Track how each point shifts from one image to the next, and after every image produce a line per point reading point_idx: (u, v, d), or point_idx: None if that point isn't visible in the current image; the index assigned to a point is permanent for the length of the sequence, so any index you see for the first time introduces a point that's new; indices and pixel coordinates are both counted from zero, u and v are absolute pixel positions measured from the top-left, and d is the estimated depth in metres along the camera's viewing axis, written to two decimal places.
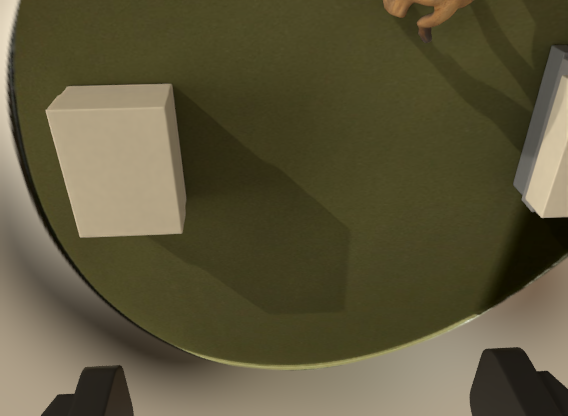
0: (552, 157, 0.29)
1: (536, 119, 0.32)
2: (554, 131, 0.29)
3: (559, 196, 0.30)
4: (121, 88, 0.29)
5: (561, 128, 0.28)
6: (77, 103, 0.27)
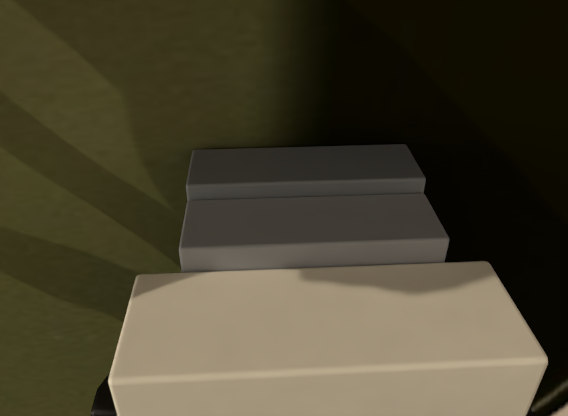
0: None
1: None
2: None
3: None
4: None
5: None
6: None
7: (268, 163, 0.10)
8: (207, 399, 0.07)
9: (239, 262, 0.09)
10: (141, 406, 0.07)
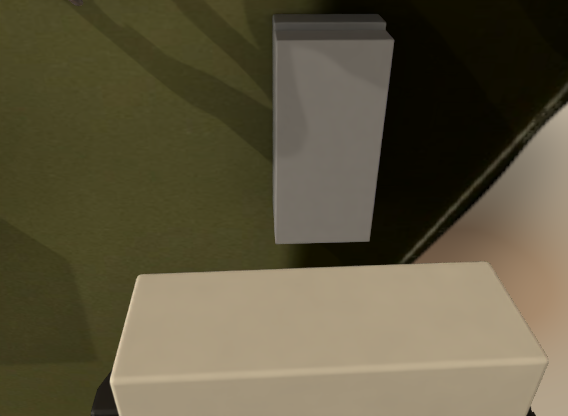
0: None
1: (273, 118, 0.23)
2: None
3: None
4: None
5: None
6: None
7: (311, 17, 0.21)
8: (208, 399, 0.07)
9: (301, 49, 0.20)
10: (144, 404, 0.07)
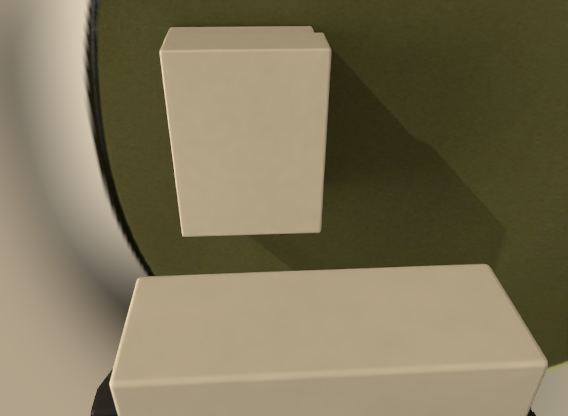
0: None
1: None
2: None
3: None
4: (246, 30, 0.21)
5: None
6: (201, 43, 0.18)
7: None
8: (207, 401, 0.07)
9: None
10: (143, 407, 0.07)
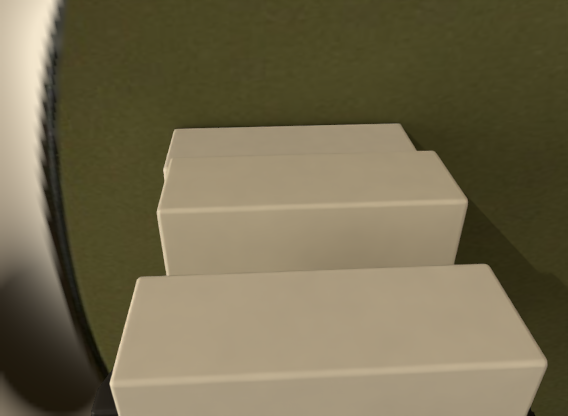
0: None
1: None
2: None
3: None
4: (299, 136, 0.13)
5: None
6: (231, 186, 0.10)
7: None
8: (208, 402, 0.07)
9: None
10: (144, 407, 0.07)
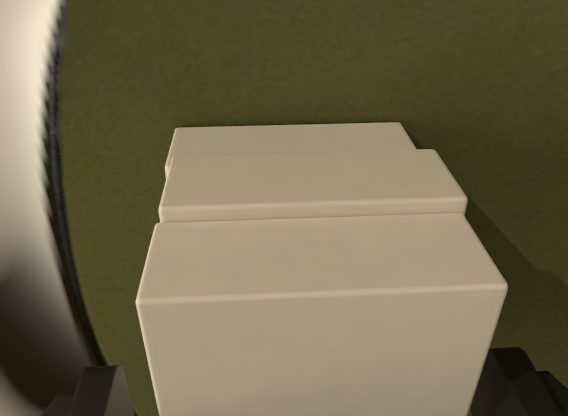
0: None
1: None
2: None
3: None
4: (299, 134, 0.13)
5: None
6: (232, 184, 0.10)
7: None
8: (219, 319, 0.08)
9: None
10: (164, 324, 0.08)
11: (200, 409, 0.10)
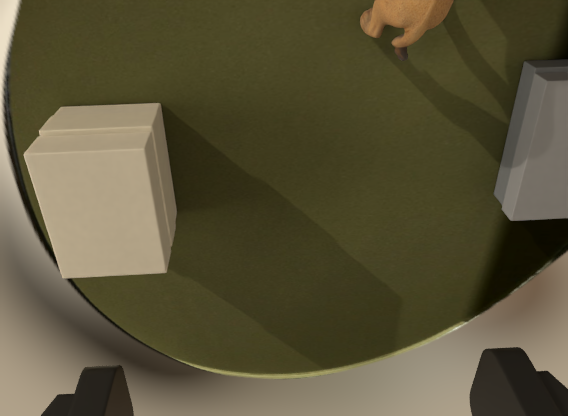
0: None
1: (512, 131, 0.33)
2: None
3: (67, 258, 0.29)
4: (111, 108, 0.31)
5: None
6: (69, 123, 0.28)
7: (554, 63, 0.31)
8: (51, 161, 0.26)
9: (562, 86, 0.29)
10: (33, 163, 0.26)
11: (53, 200, 0.27)
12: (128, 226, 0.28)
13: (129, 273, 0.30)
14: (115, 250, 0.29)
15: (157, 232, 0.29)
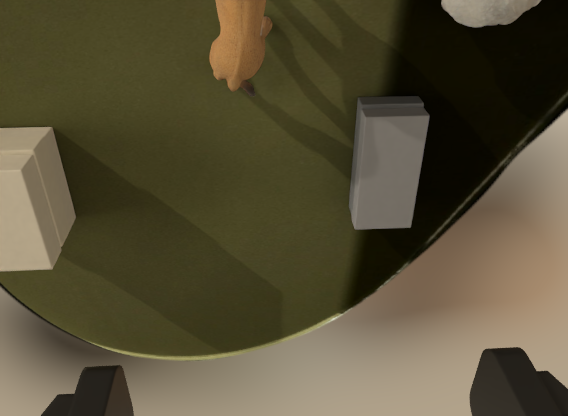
0: None
1: (354, 154, 0.40)
2: None
3: None
4: (9, 131, 0.37)
5: None
6: None
7: (381, 100, 0.37)
8: None
9: (378, 121, 0.36)
10: None
11: None
12: (15, 231, 0.34)
13: (21, 269, 0.36)
14: (6, 250, 0.35)
15: (40, 236, 0.35)
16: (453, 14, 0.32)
